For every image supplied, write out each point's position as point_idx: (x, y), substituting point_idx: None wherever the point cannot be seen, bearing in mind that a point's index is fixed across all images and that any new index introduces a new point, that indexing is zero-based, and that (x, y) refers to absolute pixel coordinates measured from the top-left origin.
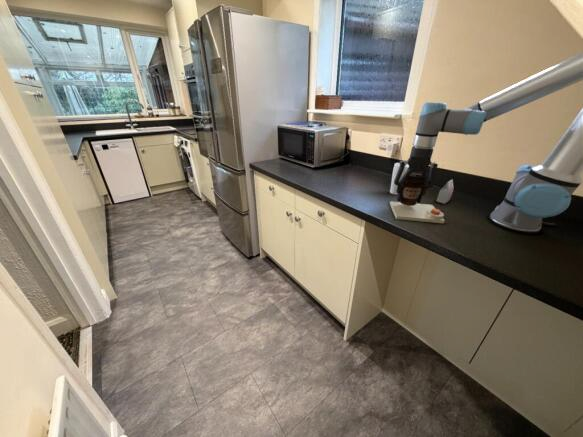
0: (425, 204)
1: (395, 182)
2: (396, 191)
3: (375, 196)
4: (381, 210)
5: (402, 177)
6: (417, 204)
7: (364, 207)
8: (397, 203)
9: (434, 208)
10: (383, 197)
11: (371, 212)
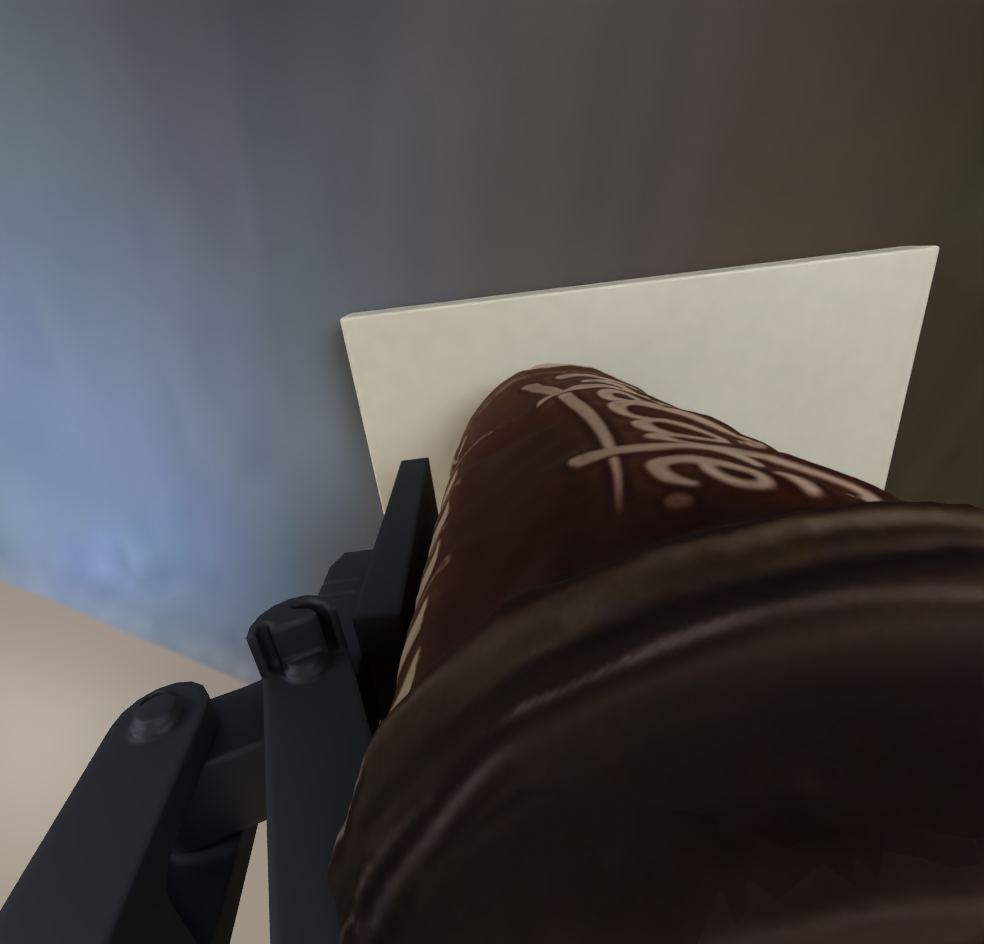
0: (839, 269)
1: (170, 870)
2: (334, 575)
3: (71, 13)
4: (274, 536)
5: (282, 922)
6: (718, 311)
7: (74, 523)
8: (440, 369)
9: (899, 379)
10: (220, 18)
11: (185, 611)
